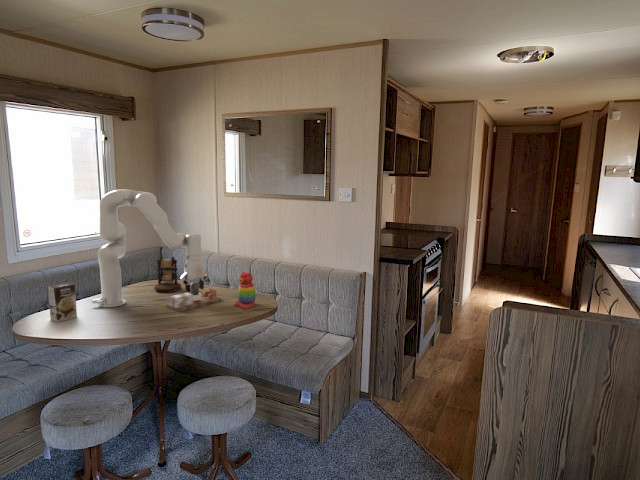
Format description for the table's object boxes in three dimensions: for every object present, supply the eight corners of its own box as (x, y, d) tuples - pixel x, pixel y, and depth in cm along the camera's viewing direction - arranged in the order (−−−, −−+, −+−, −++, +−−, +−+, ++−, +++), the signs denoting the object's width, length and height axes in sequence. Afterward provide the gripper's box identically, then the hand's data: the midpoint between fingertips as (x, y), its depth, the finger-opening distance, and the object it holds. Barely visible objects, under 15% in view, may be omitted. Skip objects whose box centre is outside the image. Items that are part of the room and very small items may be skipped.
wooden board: (179, 311, 211) (178, 299, 210) (166, 306, 219) (165, 295, 218) (221, 300, 230) (220, 289, 229) (207, 296, 238) (207, 285, 237)
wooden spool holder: (184, 286, 257) (183, 254, 254) (177, 293, 243) (176, 259, 240) (159, 286, 256) (157, 254, 253) (150, 293, 242) (149, 258, 239)
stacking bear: (232, 305, 223) (231, 272, 221) (247, 301, 231) (247, 269, 228) (244, 310, 216) (244, 276, 213) (260, 305, 223) (260, 272, 220)
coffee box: (57, 322, 193) (54, 288, 190) (50, 319, 196) (47, 286, 194) (77, 317, 201) (75, 284, 198) (70, 314, 204) (67, 281, 201)
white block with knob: (178, 305, 215) (177, 287, 213) (173, 303, 217) (173, 286, 216) (202, 299, 225) (201, 282, 224) (197, 297, 228) (197, 281, 227)
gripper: (183, 260, 212) (184, 295, 215) (212, 256, 225) (212, 288, 228) (174, 258, 217) (176, 292, 219) (203, 254, 230) (204, 285, 233)
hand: (194, 290), depth 224 cm, fingers open, 7 cm apart
